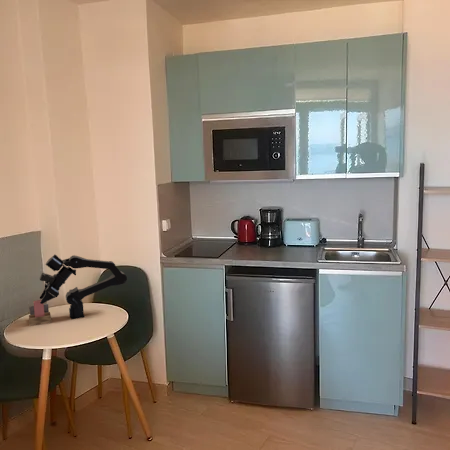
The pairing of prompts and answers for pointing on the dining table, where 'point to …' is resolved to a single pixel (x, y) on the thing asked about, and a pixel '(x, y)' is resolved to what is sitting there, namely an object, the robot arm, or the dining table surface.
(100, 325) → the dining table surface
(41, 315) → the red rectangular block
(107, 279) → the robot arm
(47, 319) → the rack
